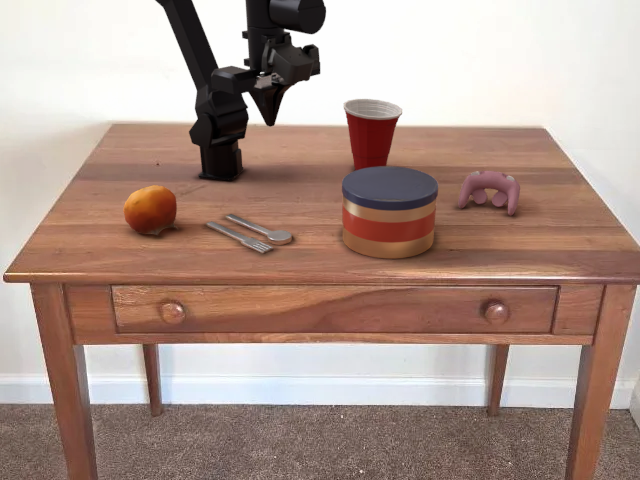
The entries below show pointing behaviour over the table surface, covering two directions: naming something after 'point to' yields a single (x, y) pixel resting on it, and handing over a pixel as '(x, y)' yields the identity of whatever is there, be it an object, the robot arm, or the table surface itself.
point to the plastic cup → (371, 130)
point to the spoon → (263, 231)
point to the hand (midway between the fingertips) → (270, 125)
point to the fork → (241, 238)
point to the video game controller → (490, 180)
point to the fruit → (151, 210)
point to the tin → (389, 211)
